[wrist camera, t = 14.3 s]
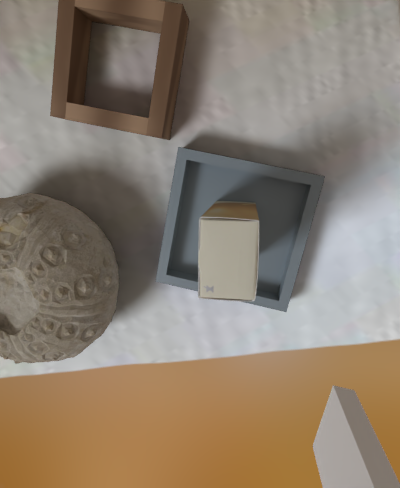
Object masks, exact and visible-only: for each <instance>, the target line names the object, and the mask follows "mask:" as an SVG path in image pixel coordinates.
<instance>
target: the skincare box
mask: <svg viewBox="0 0 400 488" xmlns="http://www.w3.org/2000/svg"><path fill="white" fill-rule="evenodd" d="M258 264H259V218H258V213H257V209H256V203H254V202H236V201H216V202H215V203H214V204H213V205H212V206H211V207H210V208H209V209H208V210H207V211H206V212H205V213H204V214H203V215H202V216H201V217H200V218H199V242H198V297H199V298H201V299H214V300H227V301H255V299H256V291H257V281H258Z"/></svg>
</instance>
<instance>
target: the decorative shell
mask: <svg viewBox="0 0 400 488" xmlns="http://www.w3.org/2000/svg"><path fill="white" fill-rule="evenodd" d="M118 272H119V267H118V265H117V262H116V257H115V252H114V250H113V248H112V245H111V243H110V241H109V240H108V239H107V238H106V236H105V235H104V233H103V232H102V230H101V229H100V227H99V226H98V225H97V224H95V223H94V222H93V221H91V220H90V218H89V217H88V216H87V215H86V214H84V213H83V212H82V211H80V210H78V209H77V208H75V207H73V206H70V205H69V204H67V203H66V202H64V201H59V200H55V199H53V198H51V197H48V196H43V195H39V194H34V193H27V194H24V195H19V196H13V197H8V198H0V356H1V357H3V358H4V359H11V360H14V361H15V363H21V362H27V363H35V362H49V361H59V360H63V359H66V358H71V357H75V356H76V355H78V354H79V353H81V352H82V351H83V350H84V349H85V348H86V347H88V346H89V345H90V344H91V343H93V342H94V340H96V339H97V338H99V337H100V336H101V335H102V334H103V333H104V331H105V330H106V328H107V327H108V325H109V324H110V322H111V321H112V316H113V314H114V312H115V309H116V304H117V296H118V290H119V275H118Z"/></svg>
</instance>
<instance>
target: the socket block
mask: <svg viewBox="0 0 400 488" xmlns="http://www.w3.org/2000/svg"><path fill="white" fill-rule="evenodd" d="M92 22H98V23H104V24H110V25H115V26H121V27H127V28H132V29H138V30H144V31H149V32H155V33H161V35H160V42H159V49H158V56H157V63H156V70H155V77H154V84H153V91H152V97H151V104H150V111H149V118H145V117H140V116H135V115H130V114H125V113H119V112H114V111H109V110H104V109H99V108H94V107H89V106H84V98H85V88H86V77H87V67H88V57H89V46H90V36H91V26H92ZM188 25H189V19H188V16H187V14H186V11H185V9H184V7H183V4H178V3H172V2H166V1H160V0H59V4H58V18H57V31H56V45H55V59H54V72H53V86H52V100H51V113H50V116H53V117H58V118H63V119H67V120H72V121H77V122H82V123H87V124H92V125H97V126H102V127H107V128H112V129H117V130H122V131H127V132H132V133H137V134H142V135H147V136H152V137H157V138H162V139H167V140H170V135H171V129H172V123H173V117H174V111H175V105H176V98H177V92H178V86H179V80H180V74H181V68H182V62H183V55H184V49H185V43H186V37H187V31H188Z"/></svg>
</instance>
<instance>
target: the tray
mask: <svg viewBox="0 0 400 488" xmlns="http://www.w3.org/2000/svg"><path fill="white" fill-rule="evenodd" d="M324 178H325V176H320V175H315V174H310V173H305V172H300V171H295V170H290V169H286V168H281V167H276V166H271V165H266V164H261V163H256V162H251V161H246V160H241V159H236V158H231V157H226V156H221V155H216V154H211V153H206V152H201V151H196V150H191V149H186V148H181V147H178V152H177V158H176V164H175V170H174V176H173V182H172V187H171V193H170V199H169V205H168V211H167V217H166V223H165V229H164V234H163V240H162V246H161V252H160V258H159V264H158V270H157V276H156V282H160V283H164V284H169V285H173V286H177V287H181V288H186V289H190V290H194V291H198V242H199V218H200V217H201V216H202V215H203V214H204V213H205V212H206V211H207V210H208V209H209V208H210V207H211V206H212V205H213V204H214V203H215V202H216V201H236V202H254V203H256V209H257V213H258V218H259V264H258V281H257V291H256V299H255V301H241V302H245V303H250V304H254V305H258V306H263V307H267V308H271V309H275V310H280V311H284V312H286V311H287V308H288V304H289V301H290V297H291V294H292V290H293V287H294V283H295V280H296V276H297V273H298V269H299V266H300V262H301V259H302V255H303V252H304V248H305V245H306V241H307V238H308V234H309V231H310V227H311V224H312V220H313V217H314V213H315V210H316V206H317V203H318V199H319V196H320V192H321V189H322V185H323V182H324Z"/></svg>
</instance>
